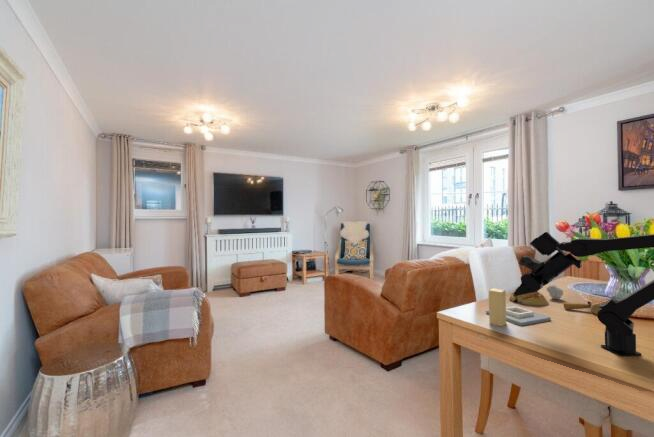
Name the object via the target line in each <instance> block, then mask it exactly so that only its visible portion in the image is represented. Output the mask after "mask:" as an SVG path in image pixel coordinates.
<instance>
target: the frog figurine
mask: <svg viewBox="0 0 654 437" xmlns="http://www.w3.org/2000/svg"><path fill="white" fill-rule="evenodd" d="M545 288H546V291H547V292H548V294H549V296H550V298H551V299H554V300H559V299H561V298H562V296H563V294H564V290H563V289H562V288H561V287H558V286H557V285H555V284H549V285H548V286H547V287H545Z"/></svg>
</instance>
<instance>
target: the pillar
mask: <svg viewBox="0 0 654 437" xmlns="http://www.w3.org/2000/svg"><path fill="white" fill-rule="evenodd" d="M506 292H507V291H506V289H499V288H493V287H492V288H490V289H489V290H488V310H489V314H488V316H489V317H488V318H489V320H488V321H489V323H490V325H494V326H500V327H503V326H505V325H506V324H507V321H506V307H507V302H506V301H507V300H506V299H507V297H506V296H507V294H506Z"/></svg>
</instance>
